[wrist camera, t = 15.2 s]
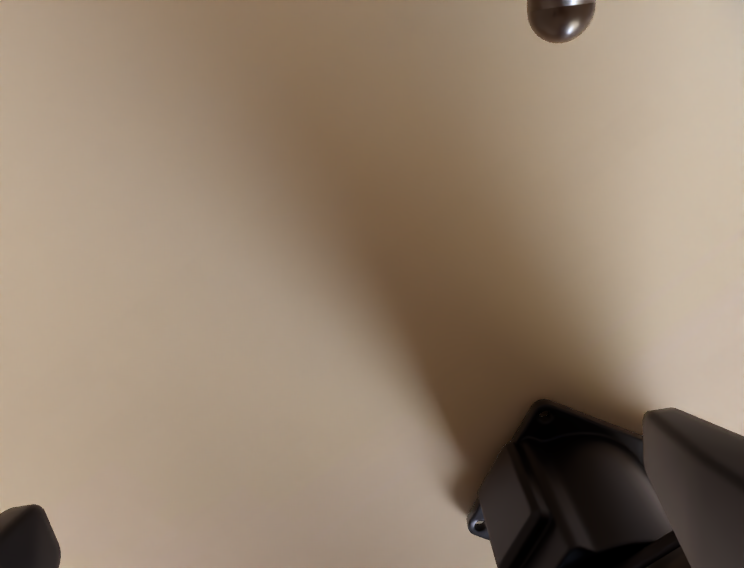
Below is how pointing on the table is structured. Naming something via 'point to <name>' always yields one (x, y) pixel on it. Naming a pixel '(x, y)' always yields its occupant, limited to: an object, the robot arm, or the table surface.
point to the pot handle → (560, 18)
